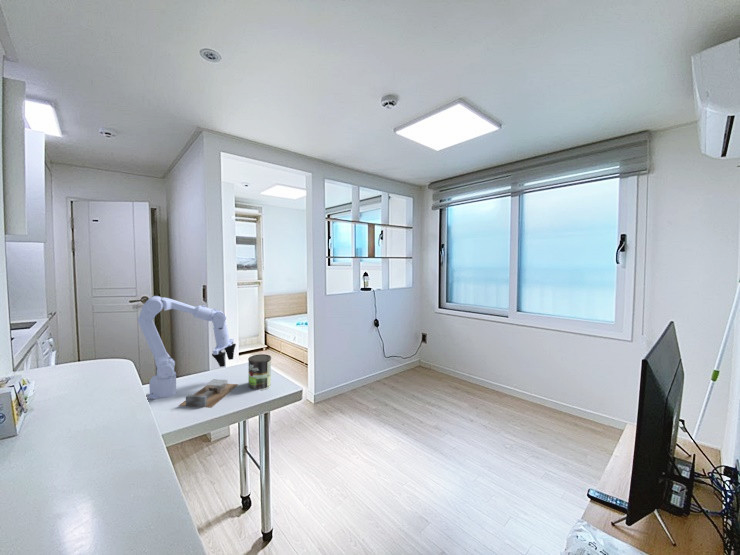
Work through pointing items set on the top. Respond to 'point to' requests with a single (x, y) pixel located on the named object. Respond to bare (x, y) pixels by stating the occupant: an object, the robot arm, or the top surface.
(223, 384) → the block
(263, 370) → the coffee can
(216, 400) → the slide rail board
